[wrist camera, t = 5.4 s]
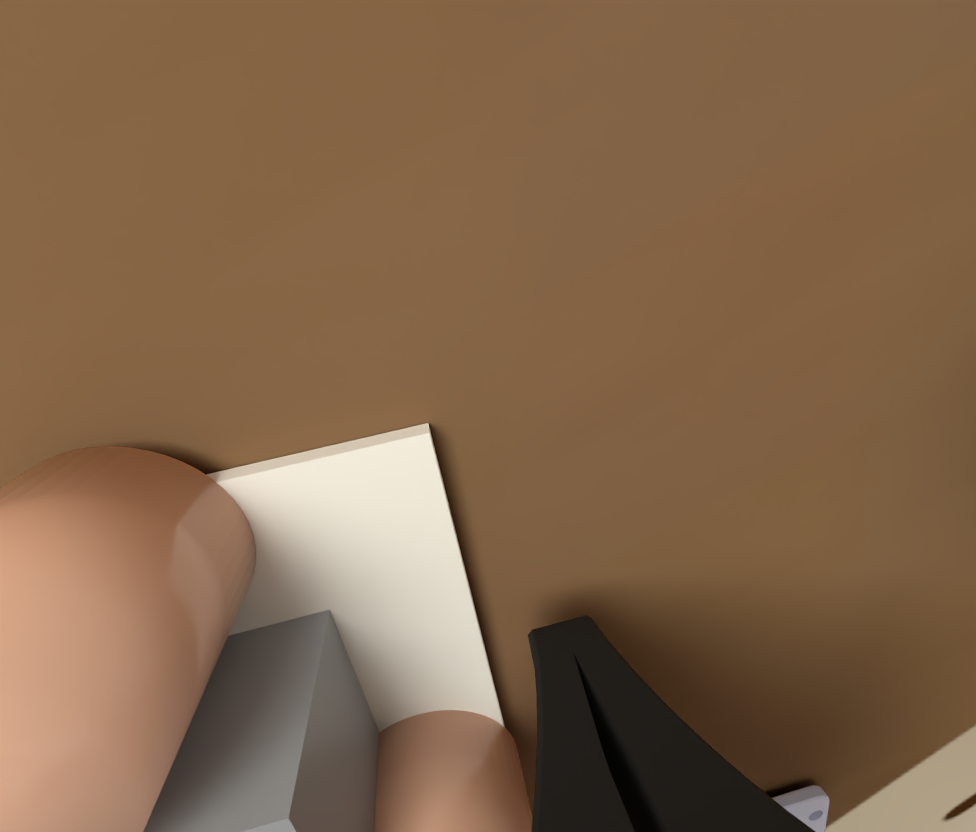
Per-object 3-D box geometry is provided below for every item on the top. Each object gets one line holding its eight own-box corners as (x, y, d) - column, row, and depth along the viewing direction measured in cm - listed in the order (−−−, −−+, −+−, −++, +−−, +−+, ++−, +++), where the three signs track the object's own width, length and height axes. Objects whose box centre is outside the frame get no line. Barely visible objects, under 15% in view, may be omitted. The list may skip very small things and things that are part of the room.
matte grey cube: (379, 731, 12) (368, 955, 8) (214, 777, 12) (127, 1032, 8) (329, 609, 10) (288, 817, 7) (139, 658, 10) (-14, 906, 6)
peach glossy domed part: (287, 608, 10) (208, 865, 6) (71, 663, 10) (-167, 977, 6) (203, 421, 9) (15, 602, 4) (-61, 480, 8) (-533, 736, 4)
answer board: (514, 765, 14) (519, 787, 13) (7, 913, 13) (-11, 944, 12) (428, 422, 10) (429, 434, 9) (-338, 600, 9) (-389, 625, 8)
